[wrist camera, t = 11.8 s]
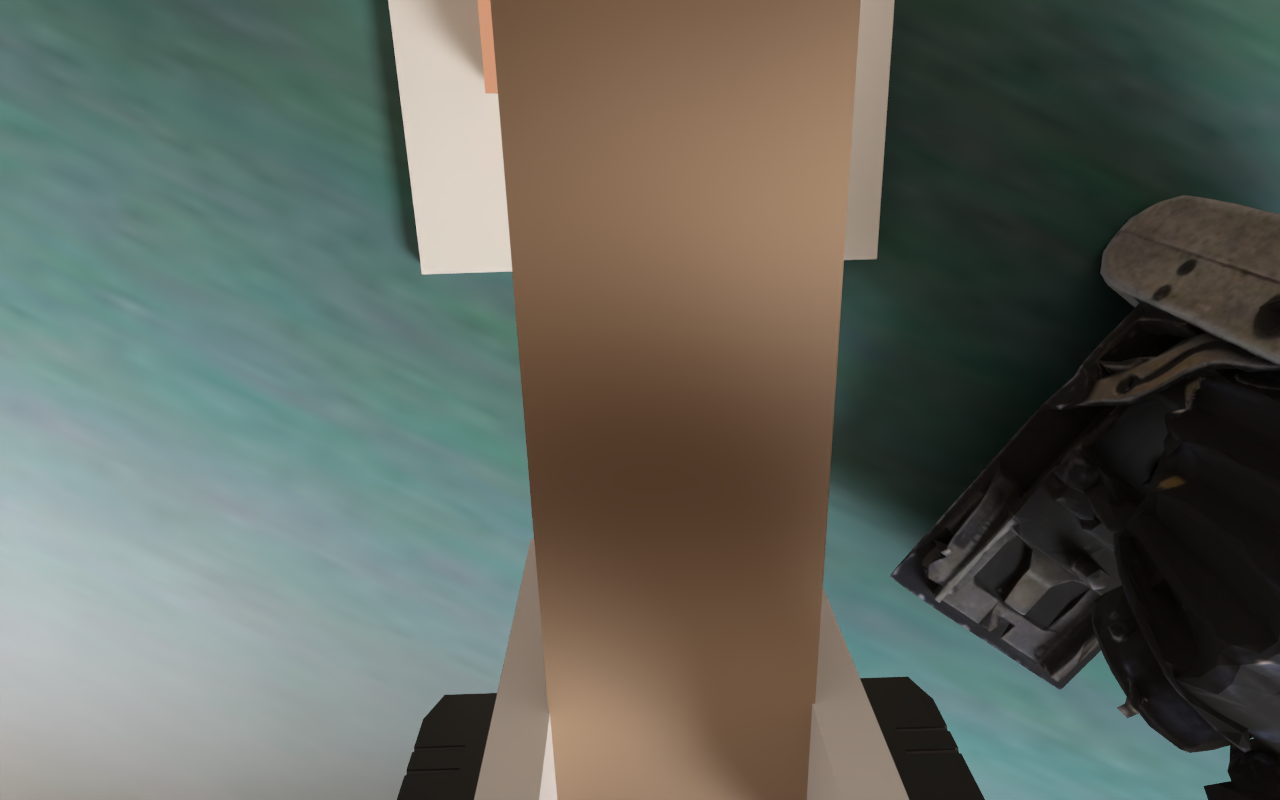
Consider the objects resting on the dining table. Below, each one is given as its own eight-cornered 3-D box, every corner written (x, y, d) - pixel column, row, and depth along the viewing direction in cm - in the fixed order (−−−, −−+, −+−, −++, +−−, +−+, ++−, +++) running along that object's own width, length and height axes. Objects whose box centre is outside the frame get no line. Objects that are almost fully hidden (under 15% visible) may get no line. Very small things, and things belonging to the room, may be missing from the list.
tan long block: (813, 685, 17) (885, 916, 12) (521, 695, 17) (481, 928, 12) (869, -197, 11) (1037, -392, 7) (437, -187, 11) (307, -376, 7)
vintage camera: (845, 509, 32) (1139, 1128, 13) (1153, 173, 27) (2276, 414, 9) (1022, 627, 34) (1486, 1299, 15) (1336, 336, 29) (2543, 805, 11)
